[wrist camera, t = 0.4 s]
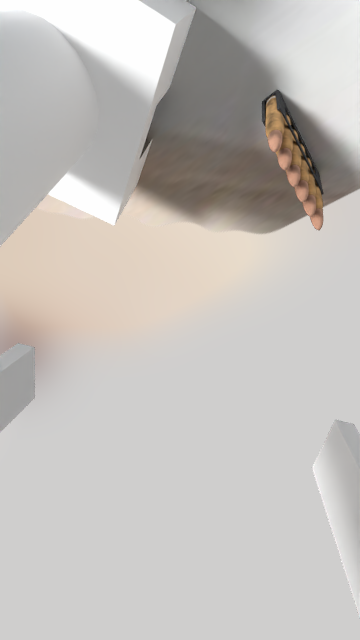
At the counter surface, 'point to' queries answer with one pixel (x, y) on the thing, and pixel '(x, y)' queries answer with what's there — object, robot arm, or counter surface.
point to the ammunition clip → (293, 156)
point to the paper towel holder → (81, 99)
